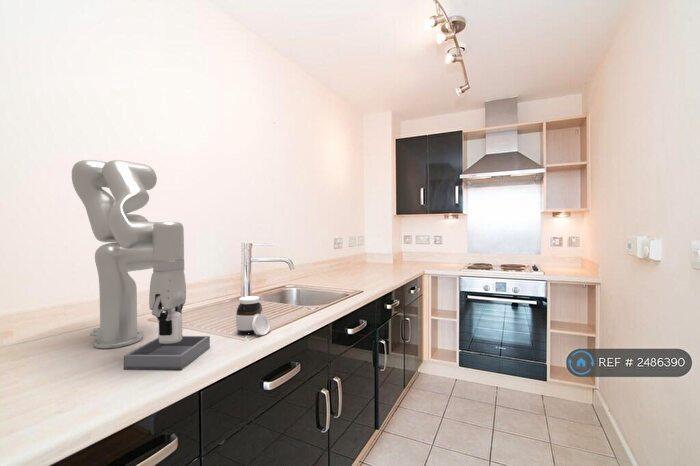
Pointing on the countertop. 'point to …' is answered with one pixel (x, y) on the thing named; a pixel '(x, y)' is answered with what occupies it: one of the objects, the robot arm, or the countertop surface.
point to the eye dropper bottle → (173, 329)
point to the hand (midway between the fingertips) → (170, 331)
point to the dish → (166, 354)
